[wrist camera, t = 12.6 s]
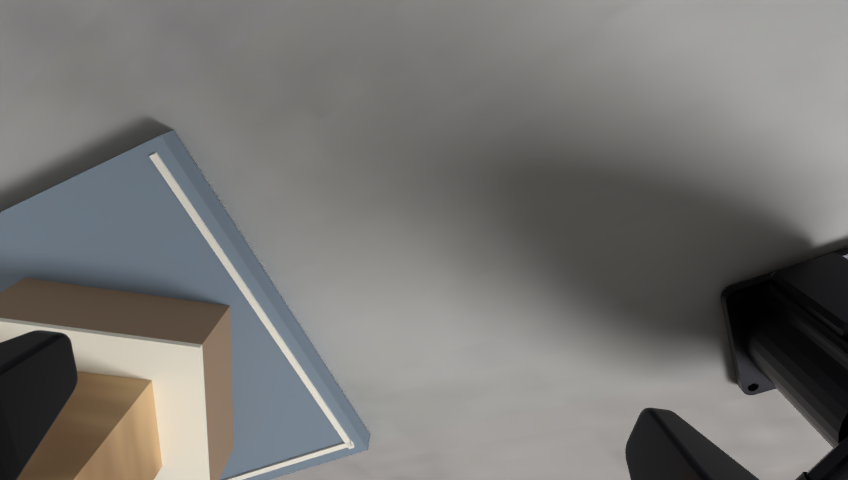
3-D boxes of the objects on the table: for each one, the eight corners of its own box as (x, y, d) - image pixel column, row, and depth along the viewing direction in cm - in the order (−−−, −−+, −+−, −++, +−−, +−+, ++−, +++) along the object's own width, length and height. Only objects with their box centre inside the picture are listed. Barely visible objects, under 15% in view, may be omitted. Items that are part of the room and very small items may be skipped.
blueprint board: (370, 434, 26) (359, 502, 22) (134, 507, 28) (90, 578, 25) (173, 129, 19) (111, 154, 15) (-111, 266, 22) (-221, 315, 18)
